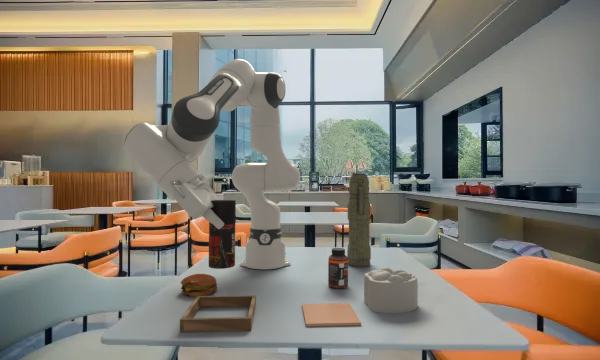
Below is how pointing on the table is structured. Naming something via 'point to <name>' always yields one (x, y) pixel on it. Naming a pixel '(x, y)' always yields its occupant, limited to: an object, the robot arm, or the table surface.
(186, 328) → the corral
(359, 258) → the olive green pillar
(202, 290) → the burger
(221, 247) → the deodorant
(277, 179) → the robot arm
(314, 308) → the coaster
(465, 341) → the table surface
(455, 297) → the table surface
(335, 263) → the supplement bottle
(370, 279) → the lumpy-topped squat cylinder
